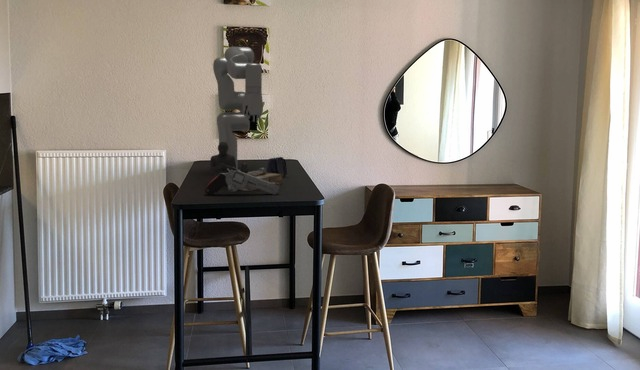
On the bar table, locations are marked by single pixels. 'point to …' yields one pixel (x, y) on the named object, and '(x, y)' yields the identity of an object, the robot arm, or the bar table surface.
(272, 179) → the wooden latch block
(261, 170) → the bar
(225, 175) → the revolver
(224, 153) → the figurine
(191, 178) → the bar table surface
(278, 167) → the rock
